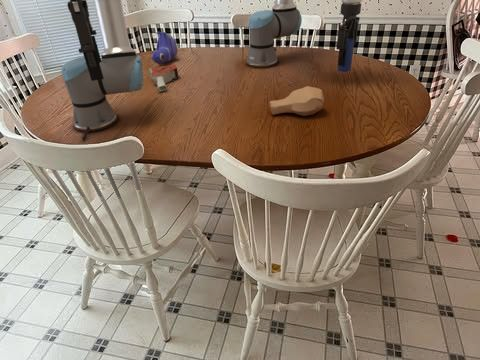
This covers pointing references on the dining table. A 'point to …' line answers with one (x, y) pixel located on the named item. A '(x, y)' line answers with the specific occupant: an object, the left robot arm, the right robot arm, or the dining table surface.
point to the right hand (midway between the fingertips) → (344, 63)
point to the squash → (300, 102)
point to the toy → (164, 49)
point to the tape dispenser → (163, 76)
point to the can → (347, 56)
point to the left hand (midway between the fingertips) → (97, 70)
